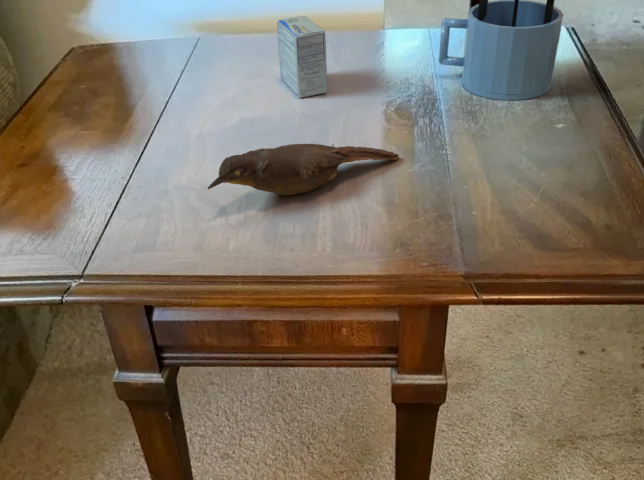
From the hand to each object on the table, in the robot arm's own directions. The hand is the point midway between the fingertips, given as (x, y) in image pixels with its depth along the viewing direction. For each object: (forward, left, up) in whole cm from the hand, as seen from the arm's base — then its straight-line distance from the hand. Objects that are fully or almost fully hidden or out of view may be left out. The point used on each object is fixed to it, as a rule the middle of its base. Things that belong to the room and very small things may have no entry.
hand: (514, 20), depth 102 cm
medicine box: (+27, +9, -9) cm, 30 cm away
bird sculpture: (+16, +36, -9) cm, 40 cm away
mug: (+2, 0, -9) cm, 9 cm away
